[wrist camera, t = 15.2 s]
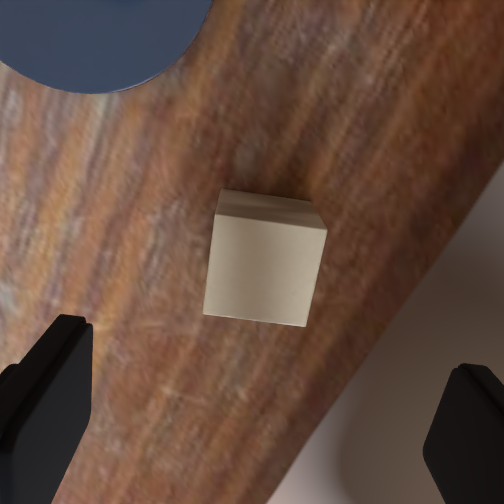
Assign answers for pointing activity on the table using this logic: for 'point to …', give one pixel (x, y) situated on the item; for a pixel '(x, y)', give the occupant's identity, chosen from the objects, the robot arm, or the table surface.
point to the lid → (97, 40)
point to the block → (263, 258)
